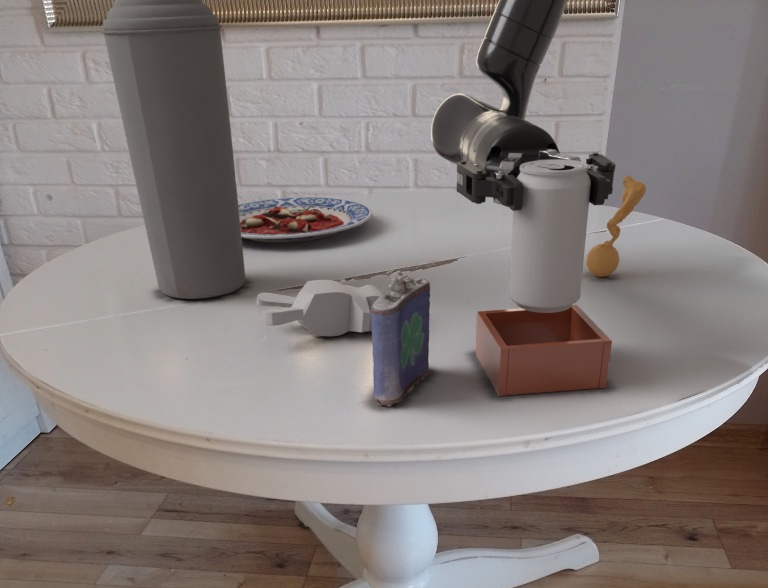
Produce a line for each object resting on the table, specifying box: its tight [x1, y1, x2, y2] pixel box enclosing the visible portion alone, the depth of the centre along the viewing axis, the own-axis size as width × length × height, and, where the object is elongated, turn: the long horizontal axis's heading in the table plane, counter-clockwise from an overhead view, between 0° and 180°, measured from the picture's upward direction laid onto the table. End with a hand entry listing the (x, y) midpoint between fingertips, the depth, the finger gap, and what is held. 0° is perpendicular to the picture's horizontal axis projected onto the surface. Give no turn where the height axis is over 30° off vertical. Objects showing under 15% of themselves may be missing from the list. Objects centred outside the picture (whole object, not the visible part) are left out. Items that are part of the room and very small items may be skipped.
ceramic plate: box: [238, 196, 373, 244], centre depth 125 cm, size 26×26×3 cm
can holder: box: [475, 304, 613, 397], centre depth 75 cm, size 10×10×4 cm
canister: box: [101, 0, 246, 300], centre depth 92 cm, size 13×13×35 cm
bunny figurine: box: [256, 279, 385, 338], centre depth 86 cm, size 10×5×15 cm
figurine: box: [585, 175, 647, 278], centre depth 96 cm, size 8×6×12 cm
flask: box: [371, 269, 431, 408], centre depth 71 cm, size 9×3×11 cm, turn 154°
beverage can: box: [508, 160, 591, 313], centre depth 70 cm, size 6×6×12 cm
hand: (560, 195), depth 66 cm, fingers closed on beverage can, 6 cm apart
